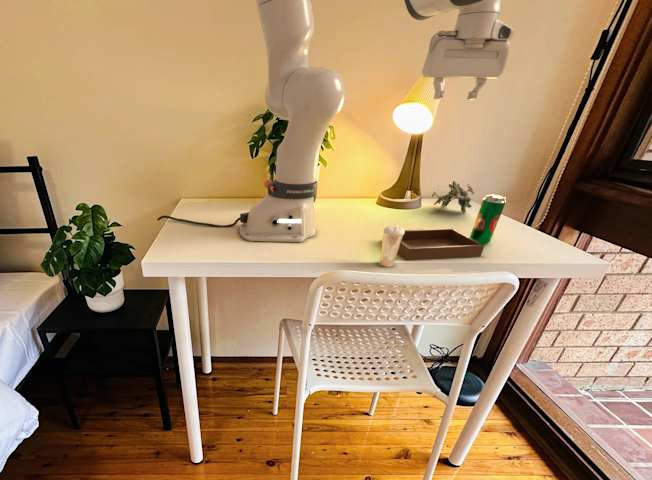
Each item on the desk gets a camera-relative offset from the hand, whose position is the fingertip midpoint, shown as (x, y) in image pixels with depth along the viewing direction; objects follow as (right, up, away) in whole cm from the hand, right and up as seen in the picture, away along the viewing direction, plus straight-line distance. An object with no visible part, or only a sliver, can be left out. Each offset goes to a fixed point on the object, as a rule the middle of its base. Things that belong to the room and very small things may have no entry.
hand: (454, 99), depth 98 cm
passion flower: (+15, -20, +28) cm, 38 cm away
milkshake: (-22, -46, -9) cm, 51 cm away
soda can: (+9, -37, +4) cm, 38 cm away
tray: (-7, -40, 0) cm, 40 cm away
